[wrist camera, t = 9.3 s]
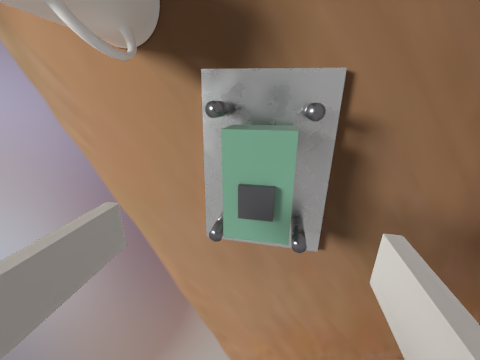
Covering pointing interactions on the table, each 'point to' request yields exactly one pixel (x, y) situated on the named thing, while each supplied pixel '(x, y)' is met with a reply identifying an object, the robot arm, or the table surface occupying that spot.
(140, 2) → the mug
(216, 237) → the chassis
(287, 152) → the board
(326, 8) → the table surface
